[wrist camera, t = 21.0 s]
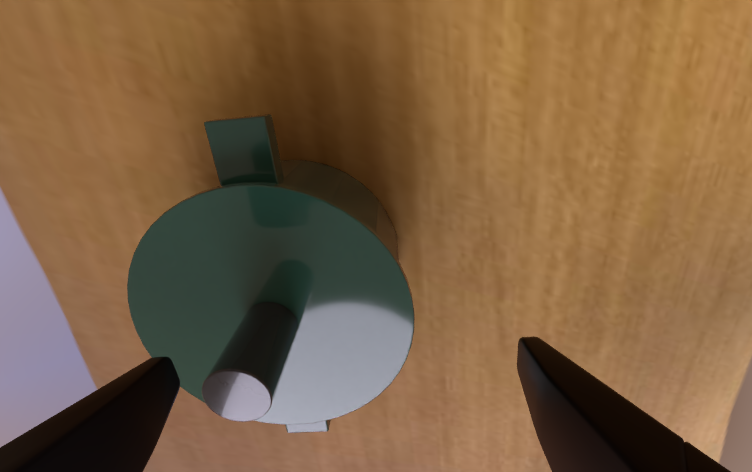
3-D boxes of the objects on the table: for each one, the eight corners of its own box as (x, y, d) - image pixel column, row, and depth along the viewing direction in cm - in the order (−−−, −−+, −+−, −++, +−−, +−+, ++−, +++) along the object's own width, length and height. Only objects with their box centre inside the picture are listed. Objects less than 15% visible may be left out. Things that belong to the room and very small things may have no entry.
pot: (386, 98, 18) (385, 105, 12) (405, 356, 25) (411, 440, 19) (170, 119, 19) (74, 135, 13) (245, 364, 26) (202, 448, 20)
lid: (404, 165, 14) (413, 206, 9) (418, 402, 19) (429, 507, 14) (99, 190, 15) (-37, 241, 10) (189, 411, 20) (127, 514, 15)
